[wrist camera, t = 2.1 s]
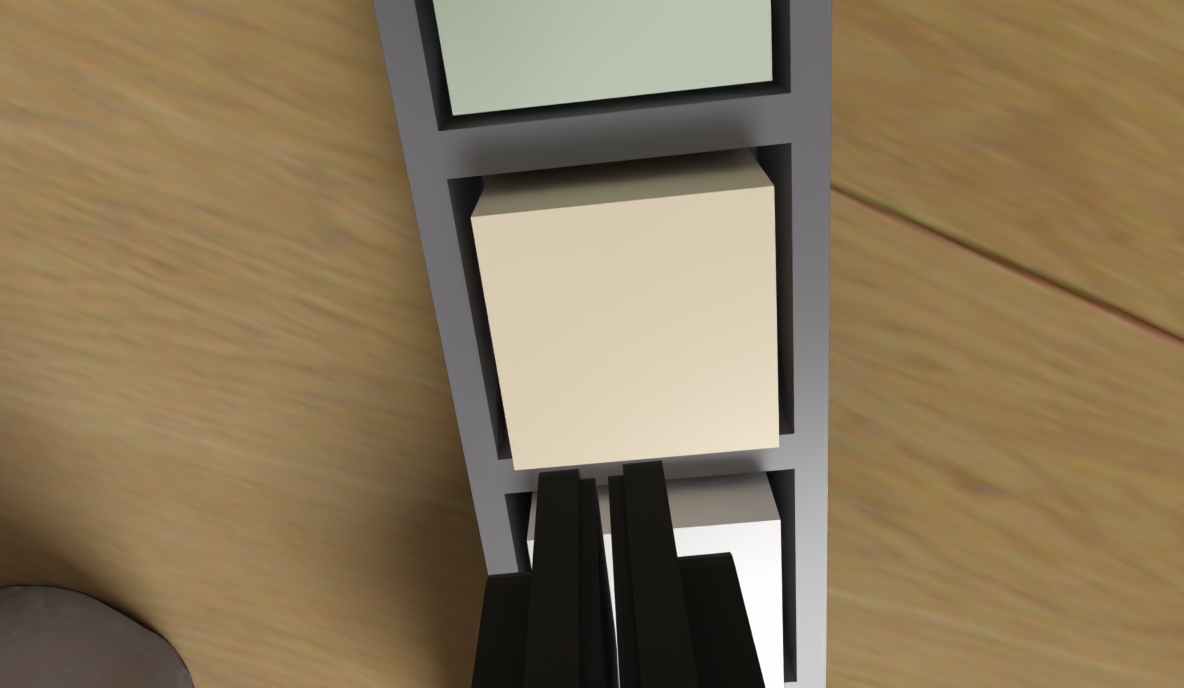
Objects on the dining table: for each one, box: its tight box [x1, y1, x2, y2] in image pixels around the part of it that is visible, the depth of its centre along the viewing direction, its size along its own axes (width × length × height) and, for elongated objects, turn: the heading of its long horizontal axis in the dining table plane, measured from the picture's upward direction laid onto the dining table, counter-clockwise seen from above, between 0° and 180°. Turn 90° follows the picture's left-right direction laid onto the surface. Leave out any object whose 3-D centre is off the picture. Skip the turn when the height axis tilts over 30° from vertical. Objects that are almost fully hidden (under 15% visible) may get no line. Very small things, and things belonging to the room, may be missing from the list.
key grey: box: [527, 471, 784, 688], centre depth 23 cm, size 6×6×4 cm
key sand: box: [471, 147, 779, 470], centre depth 20 cm, size 6×6×4 cm
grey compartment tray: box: [373, 0, 832, 688], centre depth 22 cm, size 9×25×6 cm, turn 6°
